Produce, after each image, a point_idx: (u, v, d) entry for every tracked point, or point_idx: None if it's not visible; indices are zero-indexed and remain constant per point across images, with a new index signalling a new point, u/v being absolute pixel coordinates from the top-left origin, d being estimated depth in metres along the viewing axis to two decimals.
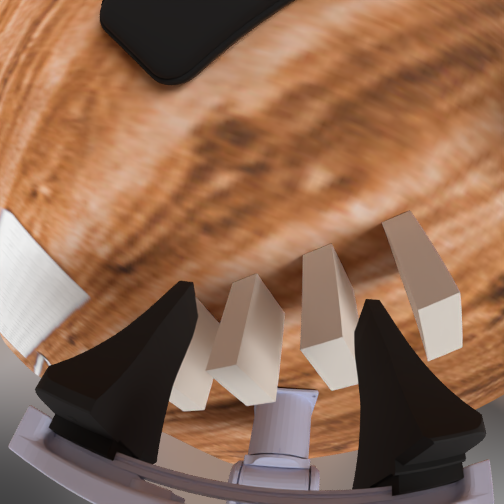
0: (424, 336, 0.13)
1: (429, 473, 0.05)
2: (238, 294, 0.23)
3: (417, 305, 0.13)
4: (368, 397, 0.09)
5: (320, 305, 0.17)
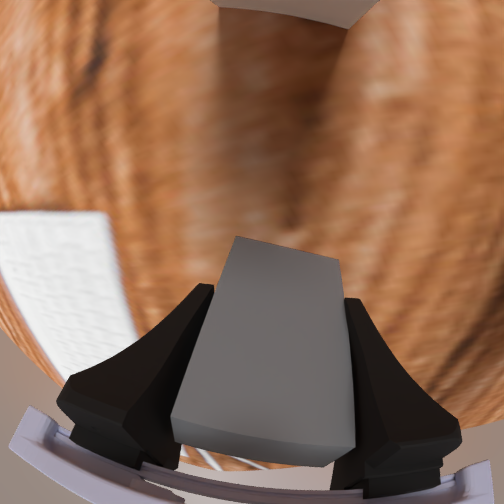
0: None
1: (402, 478, 0.05)
2: None
3: None
4: None
5: None
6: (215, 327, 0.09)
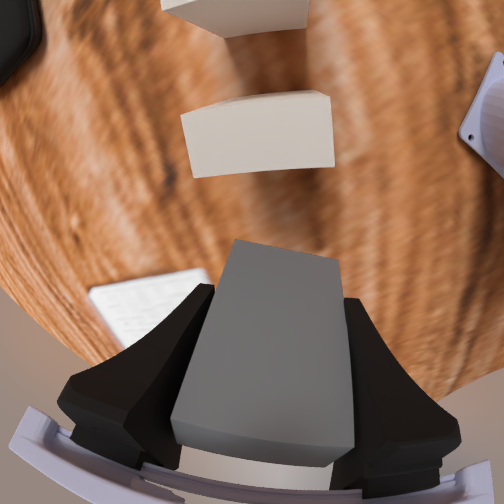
0: None
1: (401, 478, 0.05)
2: None
3: None
4: None
5: None
6: (214, 330, 0.09)
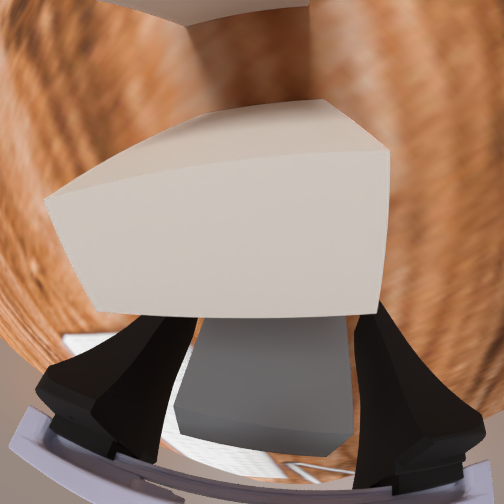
0: None
1: (429, 473, 0.05)
2: None
3: None
4: (368, 397, 0.09)
5: None
6: (216, 321, 0.10)
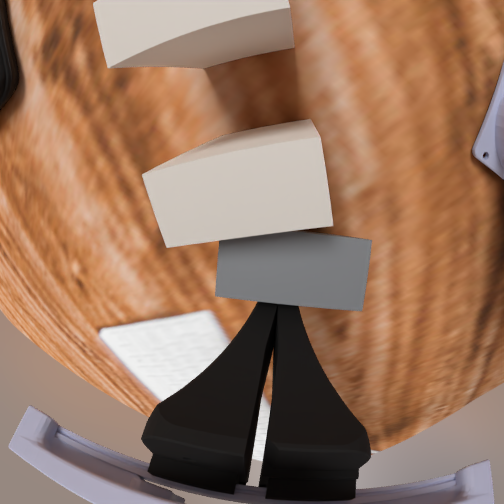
0: None
1: (306, 483, 0.05)
2: None
3: None
4: None
5: None
6: None
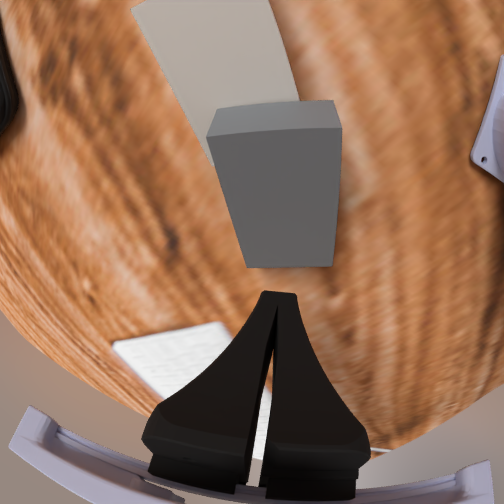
0: None
1: (306, 483, 0.05)
2: None
3: None
4: None
5: None
6: None
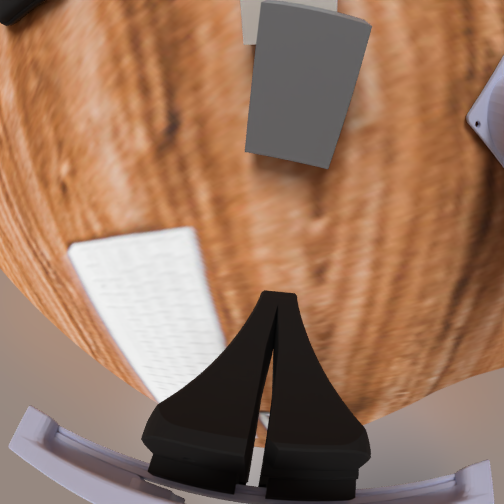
0: None
1: (306, 483, 0.05)
2: None
3: None
4: None
5: None
6: None
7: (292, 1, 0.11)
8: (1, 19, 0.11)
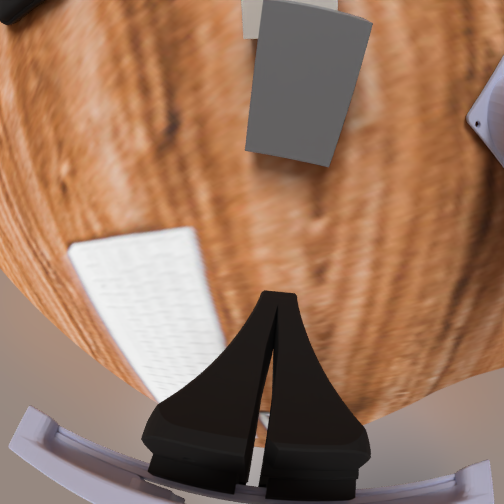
0: None
1: (306, 483, 0.05)
2: None
3: None
4: None
5: None
6: None
7: None
8: (1, 18, 0.11)
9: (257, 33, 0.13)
